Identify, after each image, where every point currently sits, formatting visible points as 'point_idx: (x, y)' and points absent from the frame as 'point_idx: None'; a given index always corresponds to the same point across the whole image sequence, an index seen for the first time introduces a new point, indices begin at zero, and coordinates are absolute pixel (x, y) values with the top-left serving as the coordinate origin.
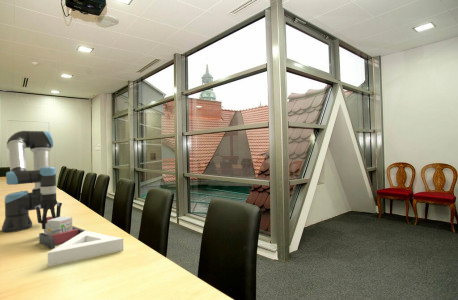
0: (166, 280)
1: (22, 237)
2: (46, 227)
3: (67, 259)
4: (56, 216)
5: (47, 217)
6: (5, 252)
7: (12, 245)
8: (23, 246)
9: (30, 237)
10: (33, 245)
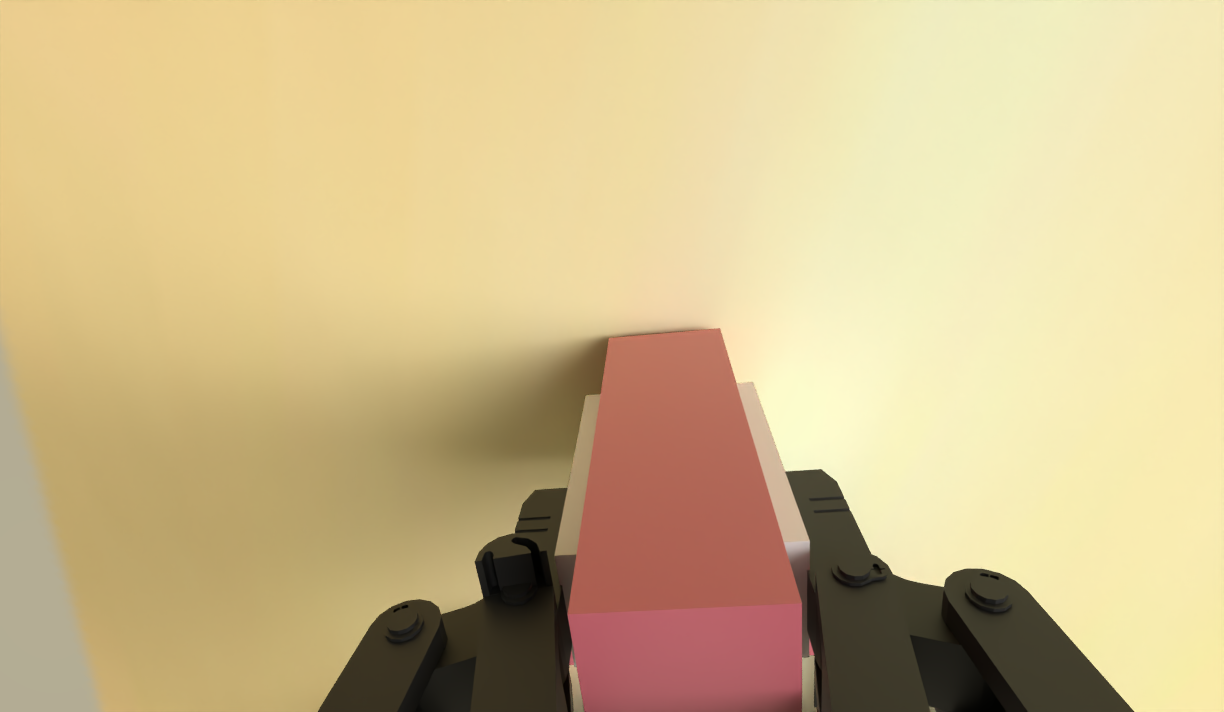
0: None
1: (237, 111)
2: None
3: None
4: (987, 679)
5: (663, 692)
6: (109, 705)
7: (138, 501)
8: (282, 656)
9: (376, 262)
10: None
